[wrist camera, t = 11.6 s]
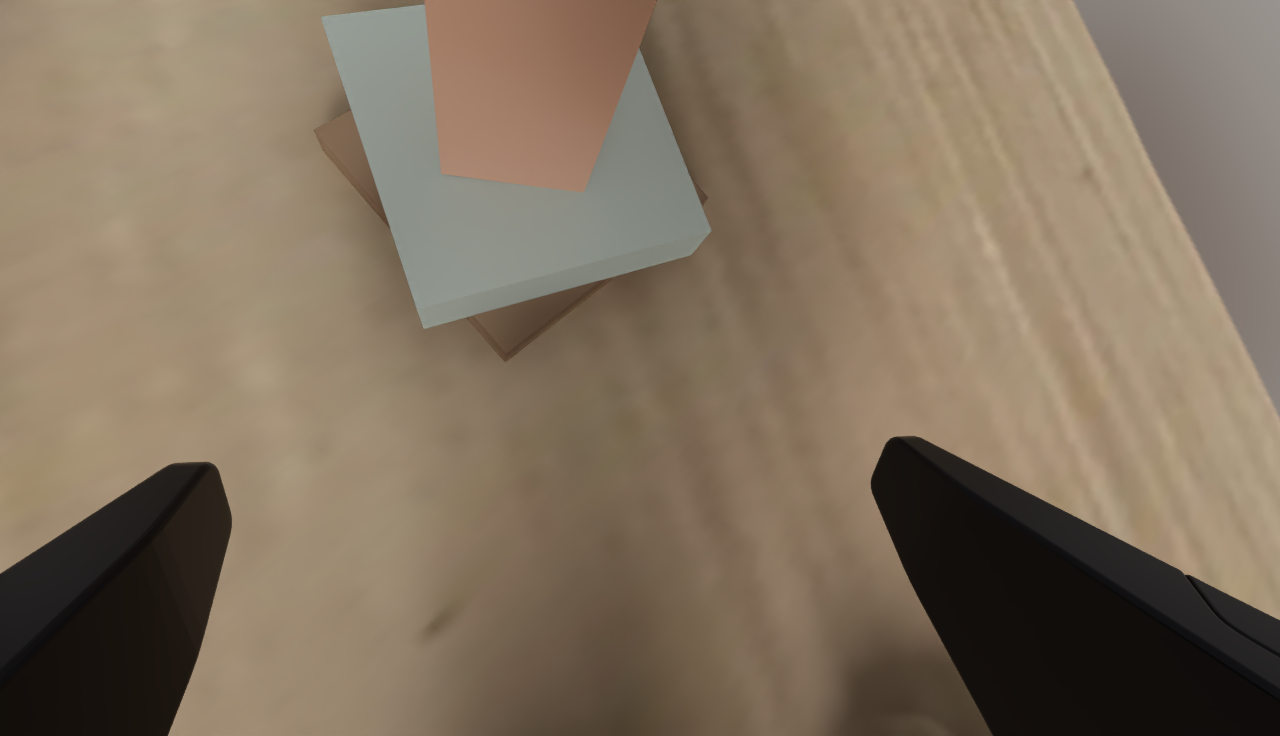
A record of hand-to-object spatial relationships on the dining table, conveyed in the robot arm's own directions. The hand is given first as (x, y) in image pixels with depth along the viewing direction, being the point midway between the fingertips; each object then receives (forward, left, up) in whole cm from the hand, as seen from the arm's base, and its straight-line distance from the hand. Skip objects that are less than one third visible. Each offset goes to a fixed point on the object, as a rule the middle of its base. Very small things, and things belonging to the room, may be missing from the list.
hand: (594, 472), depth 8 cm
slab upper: (+10, -6, -12) cm, 17 cm away
